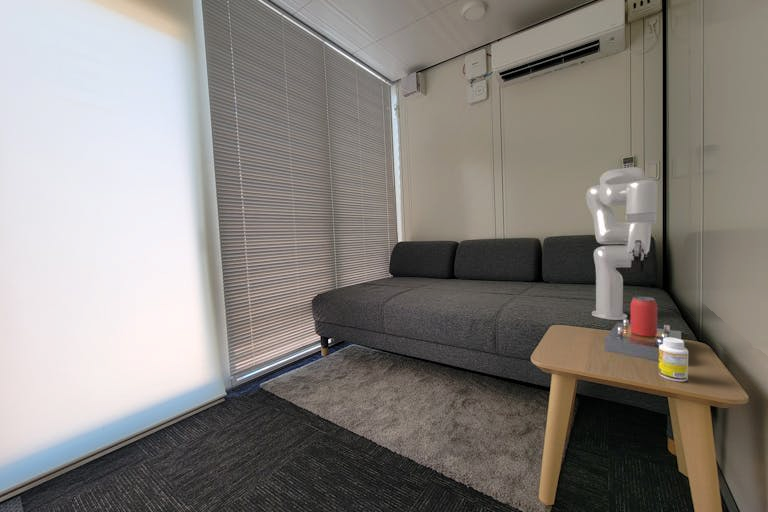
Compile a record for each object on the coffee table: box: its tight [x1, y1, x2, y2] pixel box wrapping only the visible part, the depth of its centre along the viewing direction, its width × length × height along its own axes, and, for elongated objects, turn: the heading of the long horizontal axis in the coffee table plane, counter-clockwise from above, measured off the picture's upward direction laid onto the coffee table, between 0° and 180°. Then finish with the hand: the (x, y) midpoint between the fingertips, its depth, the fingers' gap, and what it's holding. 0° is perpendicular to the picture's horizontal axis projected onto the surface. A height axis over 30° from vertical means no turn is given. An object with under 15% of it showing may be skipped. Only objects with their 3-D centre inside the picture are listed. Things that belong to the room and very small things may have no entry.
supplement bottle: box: [658, 337, 689, 382], centre depth 78 cm, size 6×6×10 cm
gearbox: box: [604, 319, 682, 362], centre depth 99 cm, size 25×17×7 cm
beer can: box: [630, 296, 658, 337], centre depth 98 cm, size 7×7×12 cm
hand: (639, 270), depth 99 cm, fingers open, 9 cm apart
